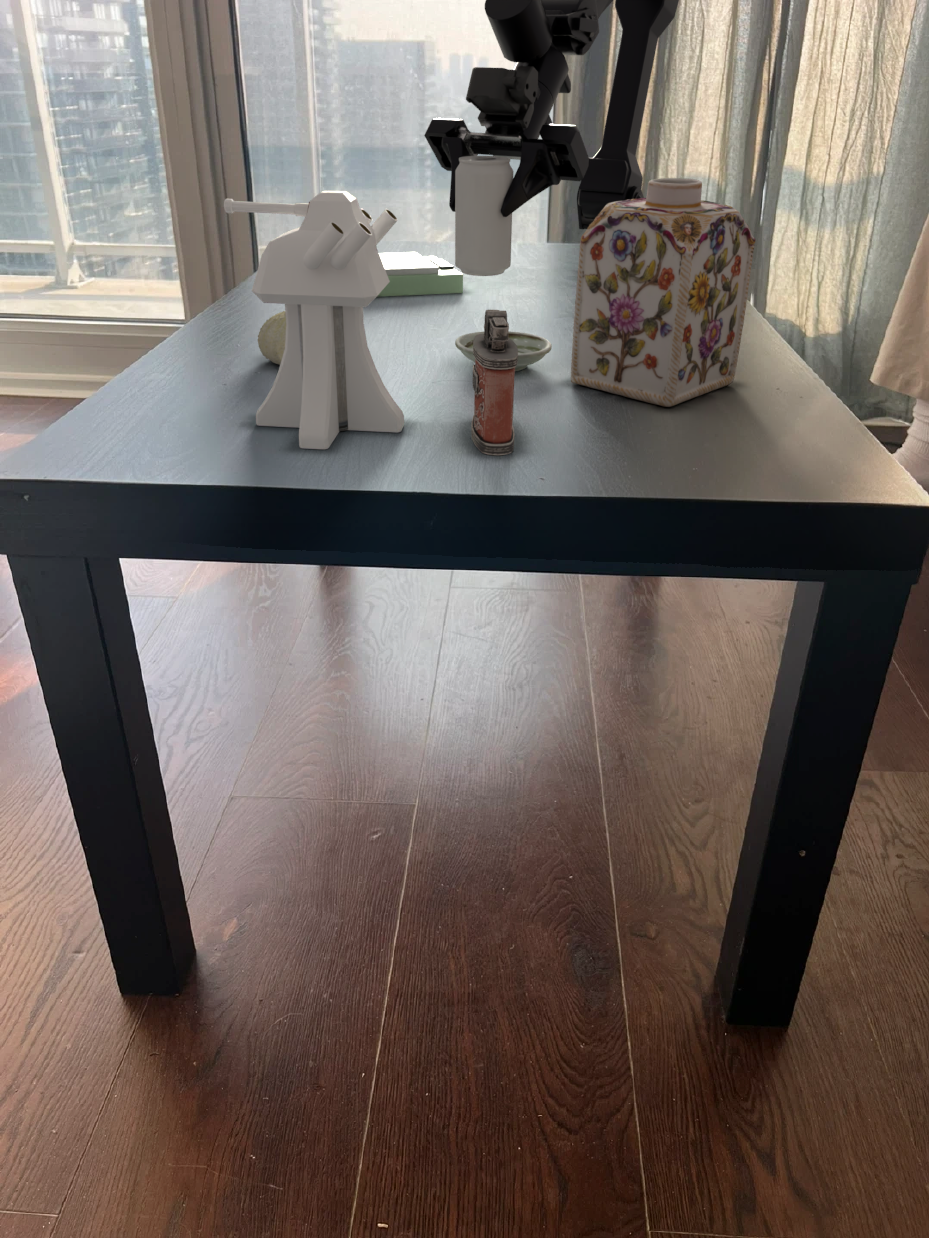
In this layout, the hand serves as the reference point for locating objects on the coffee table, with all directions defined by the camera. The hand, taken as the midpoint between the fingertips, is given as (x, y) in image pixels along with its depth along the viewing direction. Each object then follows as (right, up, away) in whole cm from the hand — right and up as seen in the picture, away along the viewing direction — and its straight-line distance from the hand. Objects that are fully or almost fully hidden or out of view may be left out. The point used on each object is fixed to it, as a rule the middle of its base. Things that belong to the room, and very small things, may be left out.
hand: (477, 211), depth 108 cm
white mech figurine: (-13, -29, -26) cm, 41 cm away
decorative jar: (+17, -23, -14) cm, 32 cm away
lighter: (+1, -31, -29) cm, 42 cm away
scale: (-11, 0, +25) cm, 27 cm away
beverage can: (+1, -5, +4) cm, 7 cm away
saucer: (+2, -20, -9) cm, 22 cm away
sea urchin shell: (-18, -19, -9) cm, 28 cm away
